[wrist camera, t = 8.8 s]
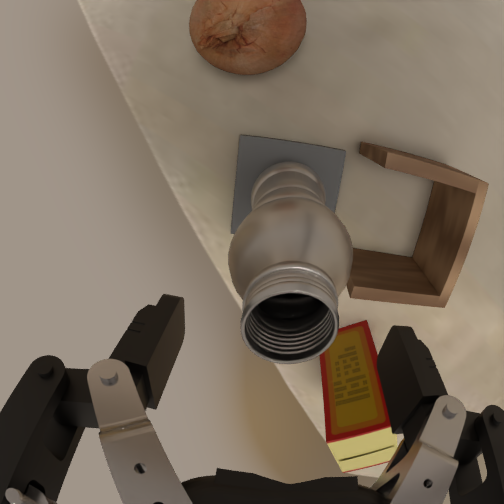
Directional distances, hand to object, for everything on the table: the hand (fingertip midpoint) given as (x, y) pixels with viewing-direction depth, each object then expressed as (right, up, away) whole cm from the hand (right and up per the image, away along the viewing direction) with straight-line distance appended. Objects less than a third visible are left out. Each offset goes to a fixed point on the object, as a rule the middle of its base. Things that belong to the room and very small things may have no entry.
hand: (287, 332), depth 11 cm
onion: (-1, +23, +12) cm, 26 cm away
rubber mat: (+2, +9, +19) cm, 21 cm away
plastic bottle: (+2, +9, +18) cm, 20 cm away
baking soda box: (+12, -10, +27) cm, 31 cm away
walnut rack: (+13, +7, +18) cm, 23 cm away
